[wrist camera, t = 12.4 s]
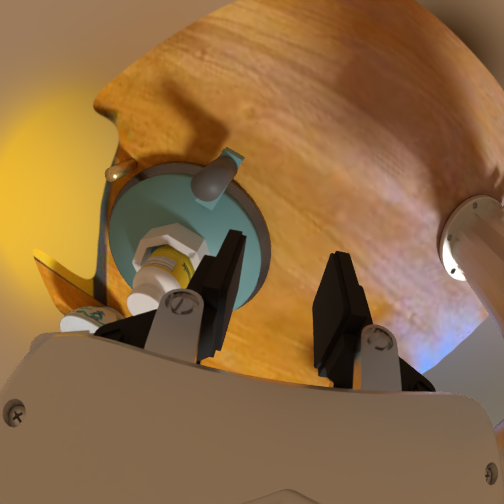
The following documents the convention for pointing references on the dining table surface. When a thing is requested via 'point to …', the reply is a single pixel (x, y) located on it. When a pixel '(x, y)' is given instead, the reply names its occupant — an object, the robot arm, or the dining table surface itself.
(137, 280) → the supplement bottle
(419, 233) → the dining table surface
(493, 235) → the robot arm
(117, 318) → the chinaware
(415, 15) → the dining table surface
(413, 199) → the dining table surface
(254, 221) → the turntable base
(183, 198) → the turntable
